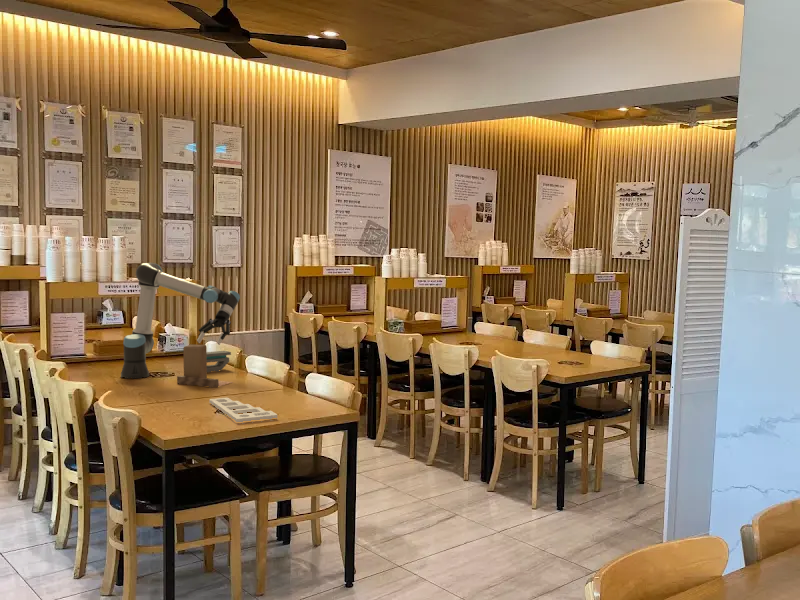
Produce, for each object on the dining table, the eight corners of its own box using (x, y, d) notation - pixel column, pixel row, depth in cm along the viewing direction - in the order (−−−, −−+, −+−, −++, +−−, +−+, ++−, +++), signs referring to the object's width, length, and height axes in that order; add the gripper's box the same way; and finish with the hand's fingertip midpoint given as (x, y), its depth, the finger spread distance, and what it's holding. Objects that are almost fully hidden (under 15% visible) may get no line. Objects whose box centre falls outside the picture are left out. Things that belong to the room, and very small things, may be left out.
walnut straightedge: (177, 383, 399) (177, 376, 399) (180, 382, 402) (180, 375, 402) (215, 387, 389) (214, 380, 389) (218, 386, 392) (218, 379, 392)
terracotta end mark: (199, 384, 398) (199, 383, 398) (213, 380, 409) (213, 380, 409) (219, 386, 393) (219, 385, 393) (232, 382, 404) (232, 382, 404)
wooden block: (207, 380, 411) (207, 344, 409) (200, 383, 401) (200, 347, 399) (190, 379, 412) (189, 344, 410) (183, 382, 402) (182, 346, 400)
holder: (209, 404, 351) (209, 399, 351) (246, 401, 360) (246, 395, 359) (237, 425, 312) (237, 419, 312) (277, 420, 320) (277, 414, 320)
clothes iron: (191, 374, 430) (191, 355, 429) (186, 372, 436) (185, 353, 435) (231, 370, 445) (230, 352, 444) (225, 368, 451) (225, 350, 451)
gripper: (244, 319, 425) (229, 348, 413) (209, 317, 435) (193, 345, 422) (239, 310, 420) (223, 339, 407) (203, 308, 430) (187, 337, 417)
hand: (208, 342), depth 415 cm, fingers open, 13 cm apart
